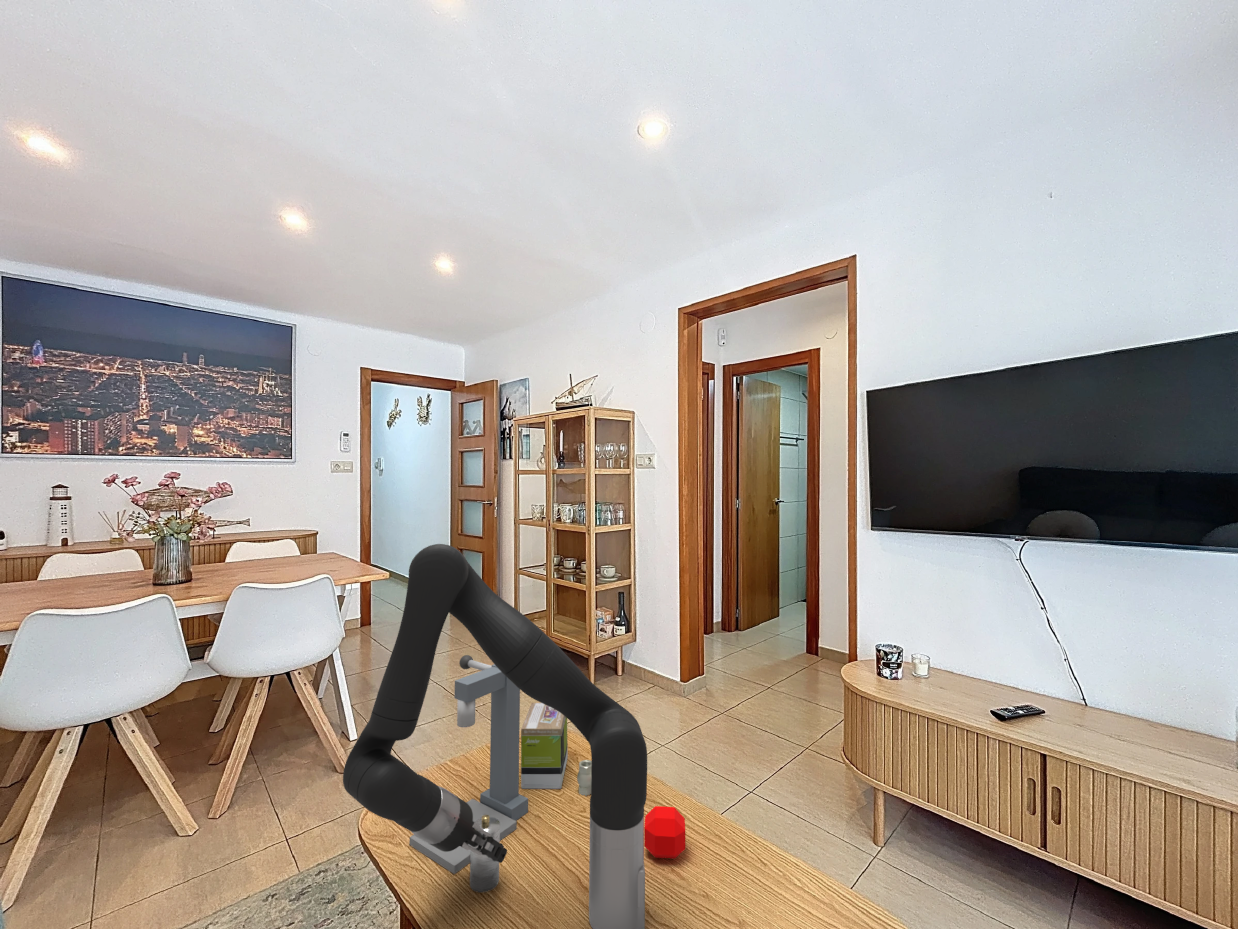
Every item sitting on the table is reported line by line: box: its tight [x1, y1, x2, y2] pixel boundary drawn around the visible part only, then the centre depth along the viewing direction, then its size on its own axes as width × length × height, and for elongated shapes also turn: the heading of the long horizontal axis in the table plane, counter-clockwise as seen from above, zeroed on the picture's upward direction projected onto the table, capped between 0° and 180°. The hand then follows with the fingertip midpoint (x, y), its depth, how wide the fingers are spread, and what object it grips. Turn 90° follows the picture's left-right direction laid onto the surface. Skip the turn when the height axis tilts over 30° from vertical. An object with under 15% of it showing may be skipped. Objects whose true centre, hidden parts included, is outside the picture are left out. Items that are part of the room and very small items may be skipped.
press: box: [409, 654, 529, 875], centre depth 115 cm, size 22×22×32 cm
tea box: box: [520, 702, 569, 790], centre depth 134 cm, size 15×10×15 cm
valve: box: [576, 759, 592, 797], centre depth 125 cm, size 7×7×12 cm
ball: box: [644, 805, 686, 860], centre depth 106 cm, size 8×8×8 cm
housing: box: [469, 815, 501, 894], centre depth 98 cm, size 5×5×12 cm
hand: (492, 849), depth 99 cm, fingers closed on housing, 5 cm apart
